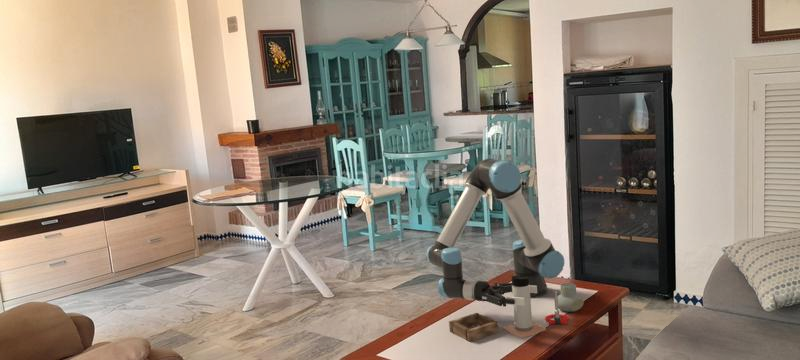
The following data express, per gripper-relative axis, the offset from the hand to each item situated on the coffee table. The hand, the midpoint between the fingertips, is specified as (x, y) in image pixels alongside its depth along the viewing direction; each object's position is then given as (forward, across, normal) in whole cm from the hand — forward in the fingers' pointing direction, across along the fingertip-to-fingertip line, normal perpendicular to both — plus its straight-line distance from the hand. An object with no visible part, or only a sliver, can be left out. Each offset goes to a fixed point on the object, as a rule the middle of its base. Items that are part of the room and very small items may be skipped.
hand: (530, 295), depth 234 cm
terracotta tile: (-3, 0, -14) cm, 14 cm away
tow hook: (+5, -12, -14) cm, 19 cm away
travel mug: (-3, 0, -13) cm, 13 cm away
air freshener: (+6, -25, -14) cm, 29 cm away
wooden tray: (-20, +8, -14) cm, 26 cm away
